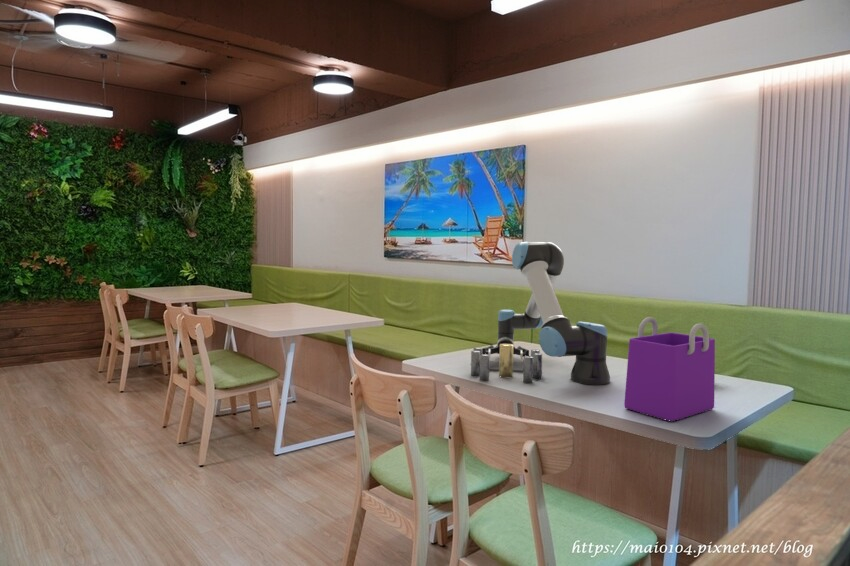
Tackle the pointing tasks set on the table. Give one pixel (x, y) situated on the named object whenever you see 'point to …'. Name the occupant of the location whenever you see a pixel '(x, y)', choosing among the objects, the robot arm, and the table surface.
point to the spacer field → (530, 367)
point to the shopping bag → (670, 373)
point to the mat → (516, 366)
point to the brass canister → (506, 360)
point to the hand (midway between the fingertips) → (505, 355)
